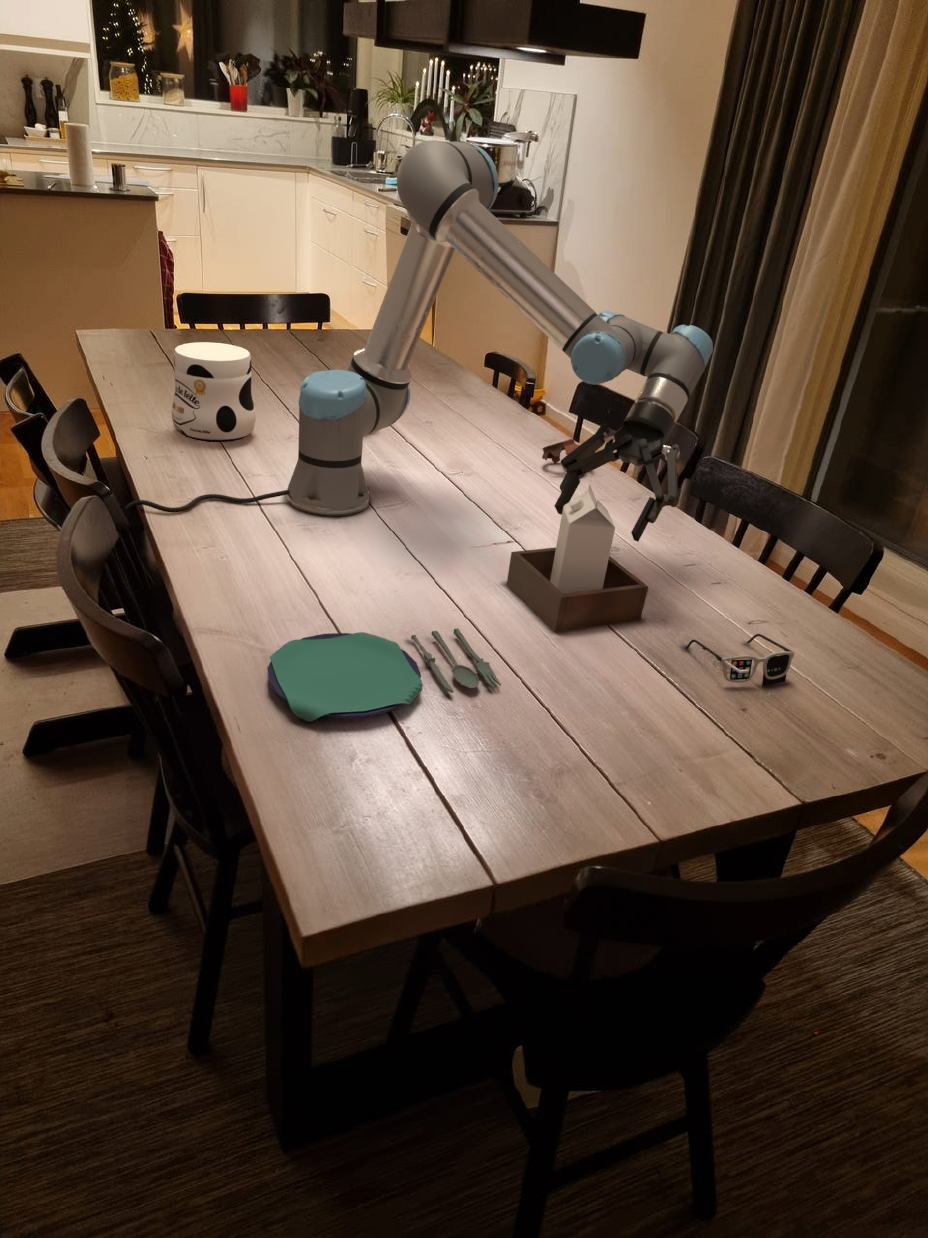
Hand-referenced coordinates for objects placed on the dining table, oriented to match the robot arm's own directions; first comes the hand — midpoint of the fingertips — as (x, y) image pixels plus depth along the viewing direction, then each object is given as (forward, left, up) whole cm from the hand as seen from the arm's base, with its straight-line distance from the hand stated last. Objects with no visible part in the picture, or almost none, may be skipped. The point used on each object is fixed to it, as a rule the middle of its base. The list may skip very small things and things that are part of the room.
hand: (595, 523), depth 144 cm
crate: (-2, -1, -13) cm, 13 cm away
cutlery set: (-40, -14, -13) cm, 45 cm away
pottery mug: (+30, +54, -13) cm, 63 cm away
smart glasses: (+12, -26, -13) cm, 32 cm away
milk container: (-41, +85, -13) cm, 95 cm away
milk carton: (-2, -1, -13) cm, 14 cm away
